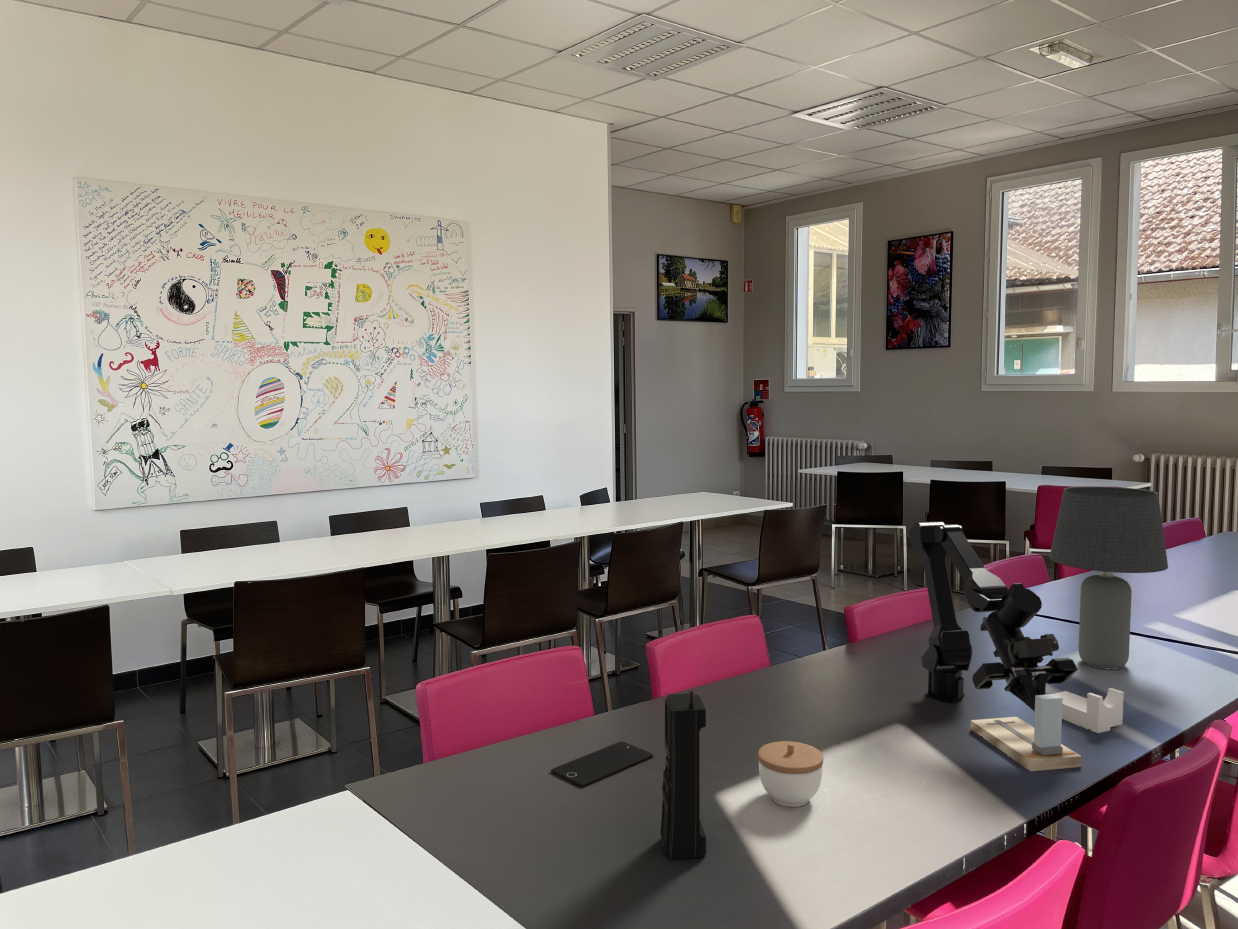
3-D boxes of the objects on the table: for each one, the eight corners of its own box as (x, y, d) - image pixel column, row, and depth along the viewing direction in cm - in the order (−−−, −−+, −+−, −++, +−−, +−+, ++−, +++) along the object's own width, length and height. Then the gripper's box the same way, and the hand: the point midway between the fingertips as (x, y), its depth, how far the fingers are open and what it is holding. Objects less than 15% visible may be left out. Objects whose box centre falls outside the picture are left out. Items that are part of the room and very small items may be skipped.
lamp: (1182, 667, 208) (1191, 491, 205) (1131, 689, 194) (1139, 500, 190) (1078, 643, 229) (1084, 483, 225) (1025, 660, 215) (1031, 490, 211)
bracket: (1122, 728, 173) (1123, 692, 172) (1097, 734, 170) (1099, 697, 169) (1065, 707, 185) (1066, 672, 184) (1041, 712, 182) (1042, 677, 181)
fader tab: (1031, 748, 158) (1033, 694, 157) (1051, 746, 158) (1053, 693, 157) (1042, 755, 155) (1044, 700, 154) (1062, 753, 155) (1064, 698, 154)
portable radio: (658, 833, 133) (657, 676, 131) (697, 831, 134) (696, 675, 132) (665, 861, 126) (664, 694, 123) (706, 858, 126) (706, 693, 124)
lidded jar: (754, 783, 150) (754, 731, 149) (816, 784, 150) (816, 731, 149) (762, 814, 139) (762, 758, 138) (829, 814, 139) (829, 758, 138)
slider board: (970, 730, 172) (970, 719, 172) (1016, 726, 174) (1016, 716, 174) (1030, 771, 153) (1031, 760, 153) (1081, 766, 155) (1081, 755, 155)
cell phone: (549, 774, 155) (549, 769, 155) (621, 745, 168) (621, 740, 167) (582, 790, 149) (582, 785, 149) (654, 759, 161) (654, 754, 161)
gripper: (982, 621, 160) (1017, 700, 150) (1072, 616, 163) (1113, 692, 153) (958, 650, 168) (989, 727, 158) (1044, 645, 171) (1081, 719, 161)
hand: (1043, 716), depth 157 cm, fingers closed, pressing on fader tab
